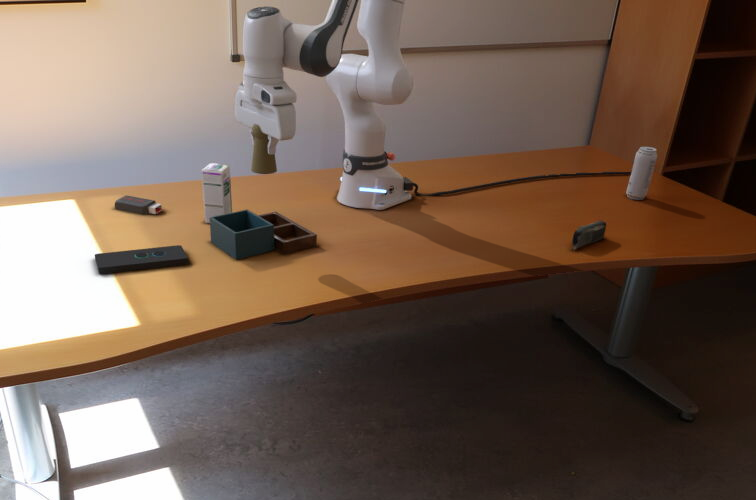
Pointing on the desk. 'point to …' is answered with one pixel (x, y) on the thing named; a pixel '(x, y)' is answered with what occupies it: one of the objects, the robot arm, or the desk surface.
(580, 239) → the mobile phone
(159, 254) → the smart home device
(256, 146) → the olive pepper mill
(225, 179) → the syrup box
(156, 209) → the usb drive
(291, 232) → the holder
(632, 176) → the energy drink can
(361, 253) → the desk surface
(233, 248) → the bin
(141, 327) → the desk surface
